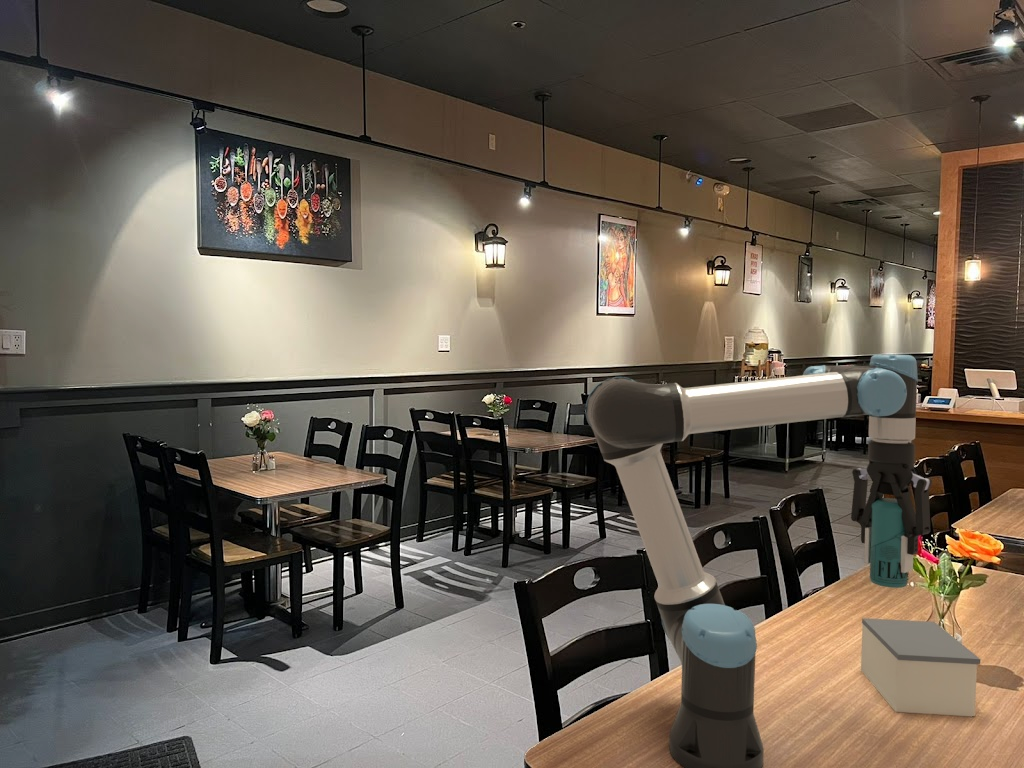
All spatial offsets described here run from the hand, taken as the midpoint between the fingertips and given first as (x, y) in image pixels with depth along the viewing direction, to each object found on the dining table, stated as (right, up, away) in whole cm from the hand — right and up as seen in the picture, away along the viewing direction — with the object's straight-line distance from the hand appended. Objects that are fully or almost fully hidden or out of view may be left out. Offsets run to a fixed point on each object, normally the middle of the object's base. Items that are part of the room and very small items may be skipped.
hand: (888, 566), depth 136 cm
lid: (+11, -18, +11) cm, 24 cm away
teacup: (+25, -27, +28) cm, 46 cm away
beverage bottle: (0, -5, 0) cm, 5 cm away
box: (+11, -28, +12) cm, 32 cm away
